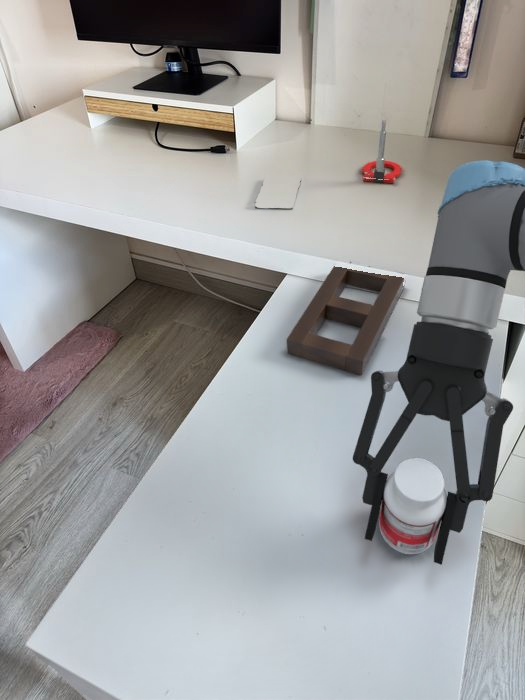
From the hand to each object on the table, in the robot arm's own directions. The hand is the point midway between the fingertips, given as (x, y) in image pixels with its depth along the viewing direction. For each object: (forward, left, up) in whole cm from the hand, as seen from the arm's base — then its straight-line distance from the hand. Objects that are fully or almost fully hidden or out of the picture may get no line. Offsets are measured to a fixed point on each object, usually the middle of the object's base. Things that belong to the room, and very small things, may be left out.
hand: (403, 546), depth 52 cm
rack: (+18, -34, -3) cm, 38 cm away
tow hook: (+28, -81, -4) cm, 86 cm away
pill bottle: (0, -4, -4) cm, 5 cm away
